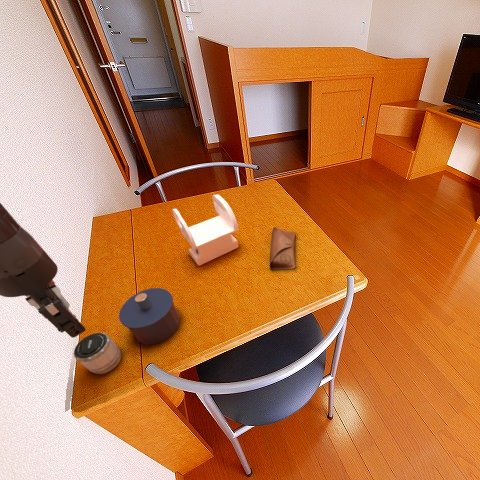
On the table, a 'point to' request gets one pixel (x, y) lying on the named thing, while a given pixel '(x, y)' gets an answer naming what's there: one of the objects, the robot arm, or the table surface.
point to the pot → (159, 329)
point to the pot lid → (146, 308)
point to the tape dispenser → (210, 233)
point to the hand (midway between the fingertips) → (70, 320)
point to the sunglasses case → (282, 250)
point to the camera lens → (98, 353)
